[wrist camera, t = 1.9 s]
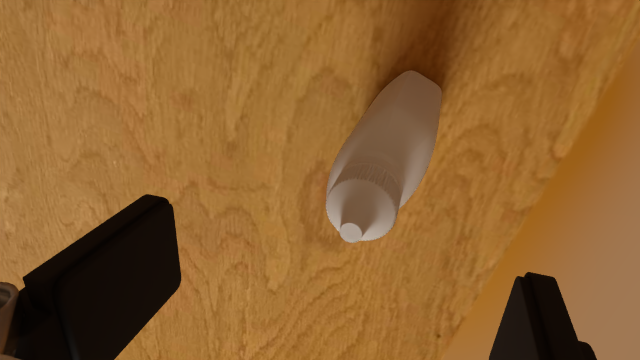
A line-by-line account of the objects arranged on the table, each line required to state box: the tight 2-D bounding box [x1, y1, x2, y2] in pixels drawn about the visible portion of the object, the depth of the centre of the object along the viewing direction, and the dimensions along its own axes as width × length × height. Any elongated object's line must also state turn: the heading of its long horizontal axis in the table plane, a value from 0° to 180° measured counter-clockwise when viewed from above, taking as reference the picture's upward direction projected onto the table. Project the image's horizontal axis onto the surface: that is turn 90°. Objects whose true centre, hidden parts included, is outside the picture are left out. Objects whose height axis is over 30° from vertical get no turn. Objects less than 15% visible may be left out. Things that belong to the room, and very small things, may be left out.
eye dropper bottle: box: [326, 70, 442, 243], centre depth 18 cm, size 4×6×12 cm
